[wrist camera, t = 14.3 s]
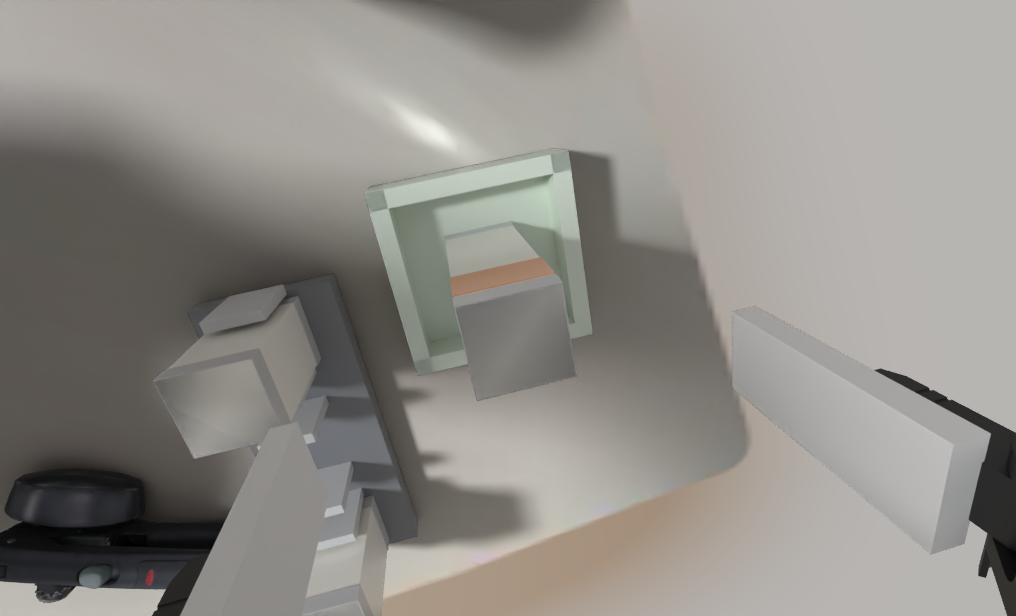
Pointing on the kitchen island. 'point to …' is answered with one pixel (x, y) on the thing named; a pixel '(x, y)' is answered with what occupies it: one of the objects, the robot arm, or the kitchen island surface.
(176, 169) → the kitchen island surface
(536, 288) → the block
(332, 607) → the grey block
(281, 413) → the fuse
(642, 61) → the kitchen island surface
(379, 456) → the block
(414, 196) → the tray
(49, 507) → the can opener
